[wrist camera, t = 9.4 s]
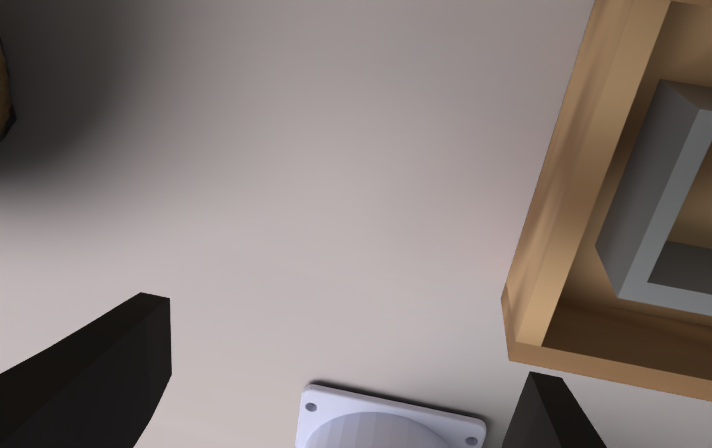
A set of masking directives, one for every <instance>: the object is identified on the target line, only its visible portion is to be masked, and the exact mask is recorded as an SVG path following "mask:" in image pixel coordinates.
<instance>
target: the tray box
mask: <svg viewBox="0 0 712 448" xmlns="http://www.w3.org/2000/svg"><path fill="white" fill-rule="evenodd" d="M660 79H663V80H669V81H675V82H681V83H687V84H693V85H699V86H705V87H711V88H712V0H595V3H594V6H593V9H592V12H591V15H590V18H589V22H588V25H587V28H586V31H585V34H584V37H583V40H582V44H581V47H580V50H579V53H578V56H577V59H576V63H575V66H574V69H573V72H572V75H571V78H570V82H569V85H568V88H567V91H566V94H565V97H564V101H563V104H562V107H561V110H560V113H559V116H558V119H557V123H556V126H555V129H554V132H553V135H552V138H551V142H550V145H549V148H548V151H547V154H546V157H545V161H544V164H543V167H542V170H541V173H540V176H539V179H538V183H537V186H536V189H535V192H534V195H533V198H532V202H531V205H530V208H529V211H528V214H527V217H526V221H525V224H524V227H523V230H522V233H521V236H520V239H519V243H518V246H517V249H516V252H515V255H514V258H513V262H512V265H511V268H510V271H509V274H508V277H507V281H506V284H505V287H504V290H503V293H502V296H501V304H502V311H503V319H504V326H505V334H506V342H507V349H508V357H509V361H514V362H519V363H524V364H529V365H534V366H539V367H544V368H549V369H554V370H559V371H563V372H568V373H573V374H578V375H583V376H588V377H593V378H598V379H603V380H608V381H613V382H618V383H623V384H628V385H633V386H638V387H642V388H647V389H652V390H657V391H662V392H667V393H672V394H677V395H682V396H687V397H692V398H697V399H702V400H707V401H712V316H709V315H703V314H698V313H693V312H688V311H683V310H678V309H672V308H667V307H662V306H657V305H652V304H647V303H641V302H636V301H631V300H626V299H621V298H617V296H616V294H615V291H614V289H613V287H612V285H611V282H610V280H609V278H608V276H607V273H606V271H605V269H604V266H603V264H602V262H601V260H600V257H599V255H598V253H597V251H596V248H595V243H596V241H597V238H598V236H599V233H600V231H601V228H602V226H603V223H604V220H605V218H606V215H607V213H608V210H609V208H610V205H611V203H612V200H613V198H614V195H615V192H616V190H617V187H618V185H619V182H620V180H621V177H622V175H623V172H624V169H625V167H626V164H627V162H628V159H629V157H630V154H631V152H632V149H633V146H634V144H635V141H636V139H637V136H638V134H639V131H640V129H641V126H642V124H643V121H644V118H645V116H646V113H647V111H648V108H649V106H650V103H651V101H652V98H653V95H654V93H655V90H656V88H657V85H658V83H659V80H660ZM666 240H667V241H672V242H677V243H683V244H688V245H693V246H699V247H704V248H709V249H712V141H711V144H710V146H709V148H708V150H707V152H706V154H705V157H704V159H703V161H702V163H701V165H700V167H699V170H698V172H697V174H696V176H695V178H694V181H693V183H692V185H691V187H690V189H689V191H688V194H687V196H686V198H685V200H684V202H683V204H682V207H681V209H680V211H679V213H678V215H677V218H676V220H675V222H674V224H673V226H672V228H671V231H670V233H669V235H668V237H667V239H666Z"/></svg>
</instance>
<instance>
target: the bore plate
mask: <svg viewBox="0 0 712 448" xmlns="http://www.w3.org/2000/svg"><path fill="white" fill-rule="evenodd" d="M711 141H712V88H711V87H705V86H699V85H693V84H687V83H681V82H675V81H669V80H663V79H660V80H659V83H658V85H657V88H656V90H655V93H654V95H653V98H652V101H651V103H650V106H649V108H648V111H647V113H646V116H645V118H644V121H643V124H642V126H641V129H640V131H639V134H638V136H637V139H636V141H635V144H634V146H633V149H632V152H631V154H630V157H629V159H628V162H627V164H626V167H625V169H624V172H623V175H622V177H621V180H620V182H619V185H618V187H617V190H616V192H615V195H614V198H613V200H612V203H611V205H610V208H609V210H608V213H607V215H606V218H605V220H604V223H603V226H602V228H601V231H600V233H599V236H598V238H597V241H596V243H595V248H596V251H597V253H598V255H599V257H600V260H601V262H602V264H603V266H604V269H605V271H606V273H607V276H608V278H609V280H610V282H611V285H612V287H613V289H614V291H615V294H616V296H617V298H621V299H626V300H631V301H636V302H641V303H647V304H652V305H657V306H662V307H667V308H672V309H678V310H683V311H688V312H693V313H698V314H703V315H709V316H712V249H709V248H704V247H699V246H693V245H688V244H683V243H677V242H672V241H667V240H666V239H667V237H668V235H669V233H670V231H671V228H672V226H673V224H674V222H675V220H676V218H677V215H678V213H679V211H680V209H681V207H682V204H683V202H684V200H685V198H686V196H687V194H688V191H689V189H690V187H691V185H692V183H693V181H694V178H695V176H696V174H697V172H698V170H699V167H700V165H701V163H702V161H703V159H704V157H705V154H706V152H707V150H708V148H709V146H710V144H711Z"/></svg>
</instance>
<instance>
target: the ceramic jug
mask: <svg viewBox="0 0 712 448" xmlns="http://www.w3.org/2000/svg"><path fill="white" fill-rule="evenodd" d="M8 88H9V73H8V68H7V64H6V60H5V55H4V51H3V46H2V42H1V40H0V142H1V141H2V140H3V139H4V138H5V136H6V135H7V133H8V132H9V130H10V129H11V127H12V126H13V124H14V123H15V121H16V120H17V118H16V115H15V112H14V109H13V105H12V102H11V99H10V96H9V93H8Z"/></svg>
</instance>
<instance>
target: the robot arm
mask: <svg viewBox="0 0 712 448" xmlns="http://www.w3.org/2000/svg"><path fill="white" fill-rule="evenodd" d="M171 375H172V365H171V325H170V298H166V297H161V296H157V295H152V294H147V293H142V292H141V293H139V294H137V295H135V296H134V297H132V298H130V299H128V300H127V301H125V302H123V303H122V304H120V305H119V306H117V307H115V308H114V309H112V310H110V311H109V312H107V313H106V314H104V315H102V316H101V317H99V318H97V319H96V320H94V321H93V322H91V323H89V324H88V325H86V326H84V327H83V328H81V329H79V330H78V331H76V332H74V333H73V334H71V335H69V336H67V337H66V338H64V339H62V340H61V341H59V342H57V343H56V344H54V345H52V346H51V347H49V348H47V349H45V350H44V351H42V352H40V353H38V354H36V355H34V356H32V357H31V358H29V359H27V360H25V361H23V362H21V363H19V364H18V365H16V366H14V367H12V368H10V369H8V370H7V371H5V372H3V373H1V374H0V448H133V447H134V446H135V444H136V442H137V441H138V439H139V438H140V436H141V434H142V433H143V431H144V430H145V428H146V426H147V425H148V423H149V421H150V420H151V418H152V416H153V414H154V412H155V410H156V407H157V405H158V403H159V401H160V399H161V397H162V395H163V393H164V390H165V388H166V386H167V384H168V382H169V379H170V377H171ZM309 403H314V404H315V405H311V404H309ZM468 437H474V438H468ZM485 437H486V425H485V423H484V422H483V421H482V420H480V419H477V418H472V417H467V416H462V415H458V414H453V413H448V412H443V411H439V410H434V409H429V408H424V407H420V406H415V405H410V404H405V403H400V402H396V401H391V400H386V399H381V398H377V397H372V396H367V395H362V394H357V393H353V392H348V391H343V390H338V389H334V388H329V387H324V386H319V385H313V384H310V385H307V386H306V387H304V389H303V392H302V395H301V402H300V410H299V419H298V427H297V435H296V443H295V448H482V445H483V442H484V439H485ZM502 448H607V447H606V445H605V444H604V442H603V441H602V439H601V438H600V436H599V435H598V433H597V432H596V430H595V429H594V427H593V426H592V424H591V422H590V421H589V419H588V418H587V416H586V415H585V413H584V412H583V410H582V408H581V407H580V405H579V404H578V402H577V401H576V399H575V398H574V396H573V394H572V393H571V391H570V390H569V388H568V387H567V385H566V384H565V382H564V381H563V379H562V378H560V377H555V376H550V375H546V374H541V373H536V372H531V371H530V372H529V375H528V377H527V380H526V383H525V385H524V388H523V391H522V393H521V396H520V399H519V401H518V404H517V407H516V409H515V412H514V415H513V417H512V420H511V423H510V425H509V428H508V431H507V433H506V436H505V439H504V441H503V444H502Z"/></svg>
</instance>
